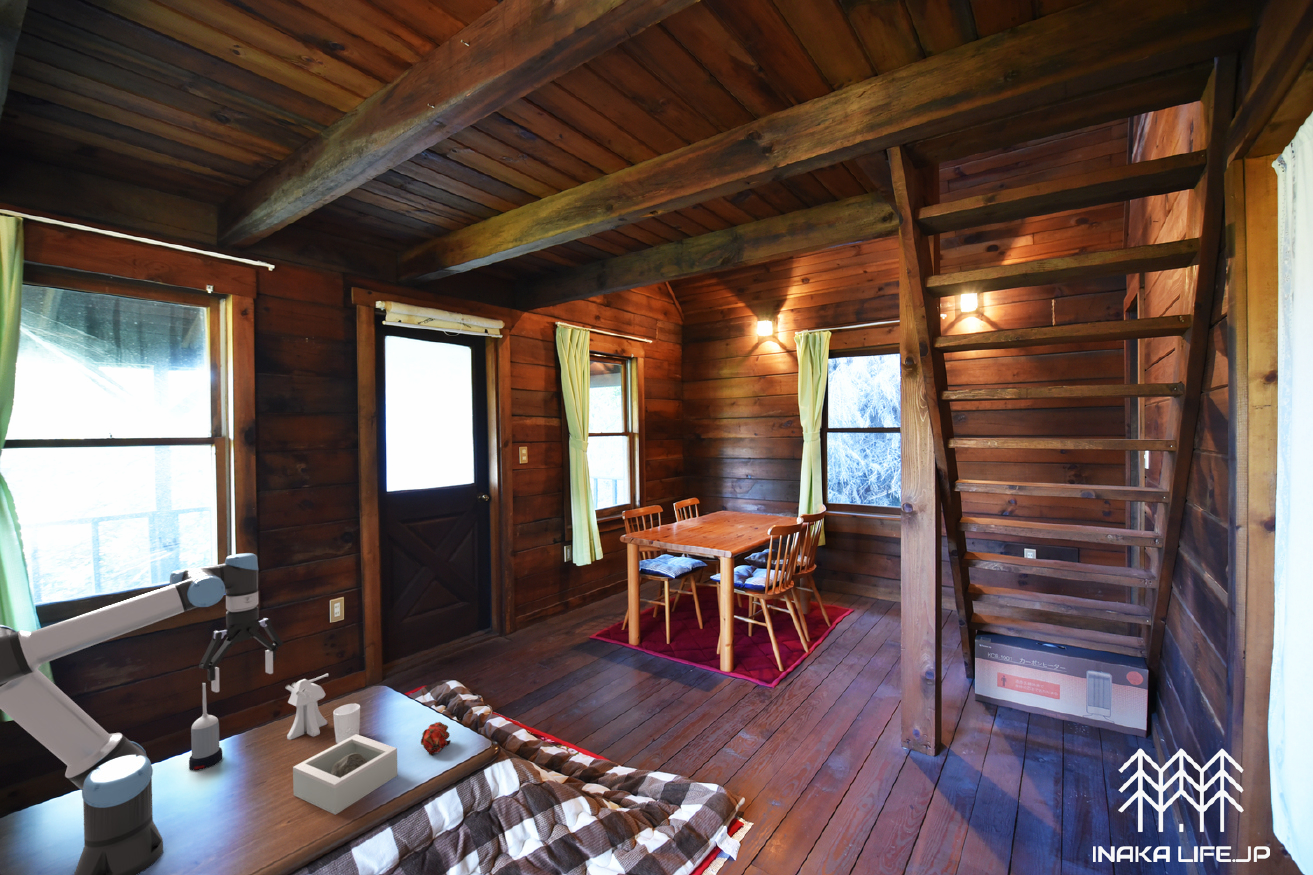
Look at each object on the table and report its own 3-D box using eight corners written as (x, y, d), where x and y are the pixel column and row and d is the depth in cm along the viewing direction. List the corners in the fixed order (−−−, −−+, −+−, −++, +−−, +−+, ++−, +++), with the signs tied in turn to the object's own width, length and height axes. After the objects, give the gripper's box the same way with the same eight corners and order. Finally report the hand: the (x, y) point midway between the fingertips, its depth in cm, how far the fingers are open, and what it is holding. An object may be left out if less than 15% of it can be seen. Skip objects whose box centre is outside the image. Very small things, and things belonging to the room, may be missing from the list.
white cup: (335, 736, 187) (334, 706, 187) (361, 730, 190) (360, 701, 190) (332, 747, 180) (331, 717, 180) (360, 741, 183) (359, 711, 183)
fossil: (352, 798, 153) (336, 765, 153) (327, 810, 154) (311, 778, 155) (379, 773, 163) (364, 743, 164) (356, 785, 165) (341, 754, 166)
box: (335, 814, 147) (334, 784, 147) (293, 795, 156) (292, 766, 156) (397, 775, 164) (396, 748, 164) (356, 759, 173) (356, 733, 173)
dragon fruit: (438, 743, 184) (438, 768, 173) (415, 734, 180) (413, 758, 169) (454, 721, 185) (454, 744, 173) (431, 711, 181) (430, 734, 170)
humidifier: (193, 773, 167) (191, 691, 167) (185, 764, 172) (183, 684, 172) (226, 760, 174) (224, 681, 174) (218, 752, 179) (216, 675, 179)
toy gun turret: (338, 725, 194) (336, 674, 194) (297, 743, 183) (295, 689, 183) (320, 717, 200) (319, 667, 200) (279, 734, 189) (278, 681, 189)
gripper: (196, 622, 147) (196, 702, 147) (295, 598, 168) (296, 668, 168) (183, 618, 150) (184, 696, 150) (282, 595, 172) (282, 663, 172)
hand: (243, 681), depth 159 cm, fingers open, 13 cm apart
